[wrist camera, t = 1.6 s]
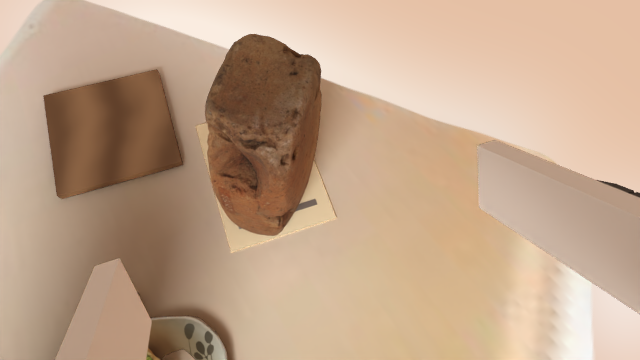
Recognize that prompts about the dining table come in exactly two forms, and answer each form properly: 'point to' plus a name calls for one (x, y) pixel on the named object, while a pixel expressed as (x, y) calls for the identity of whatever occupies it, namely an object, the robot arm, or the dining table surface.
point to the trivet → (110, 133)
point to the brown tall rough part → (262, 132)
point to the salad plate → (184, 338)
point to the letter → (307, 214)
